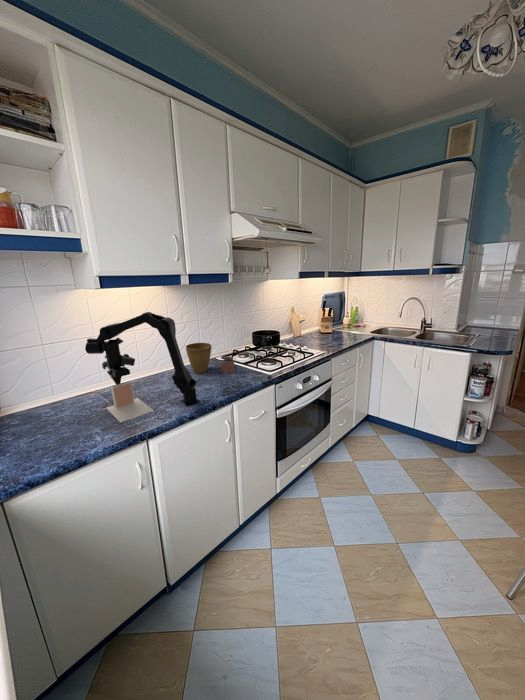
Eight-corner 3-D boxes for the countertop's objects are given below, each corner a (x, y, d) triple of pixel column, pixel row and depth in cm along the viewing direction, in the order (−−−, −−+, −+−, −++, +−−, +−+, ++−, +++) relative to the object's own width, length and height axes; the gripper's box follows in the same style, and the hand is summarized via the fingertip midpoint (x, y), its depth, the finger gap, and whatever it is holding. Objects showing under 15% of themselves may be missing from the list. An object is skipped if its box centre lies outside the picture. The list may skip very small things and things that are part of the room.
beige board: (154, 411, 126) (153, 410, 126) (120, 423, 117) (120, 422, 117) (137, 398, 138) (137, 397, 138) (106, 408, 129) (105, 407, 129)
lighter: (235, 371, 172) (234, 355, 169) (234, 373, 169) (233, 357, 166) (222, 371, 173) (221, 355, 170) (220, 373, 170) (219, 357, 167)
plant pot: (197, 377, 164) (195, 350, 159) (183, 371, 174) (180, 346, 169) (218, 370, 174) (216, 345, 170) (203, 365, 184) (201, 341, 180)
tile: (134, 402, 133) (131, 382, 131) (116, 408, 128) (112, 387, 125) (132, 400, 135) (129, 381, 132) (114, 406, 130) (110, 386, 127)
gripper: (139, 353, 127) (144, 386, 132) (124, 345, 140) (128, 376, 145) (112, 359, 120) (118, 393, 124) (99, 350, 133) (104, 382, 137)
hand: (118, 385), depth 133 cm, fingers closed
